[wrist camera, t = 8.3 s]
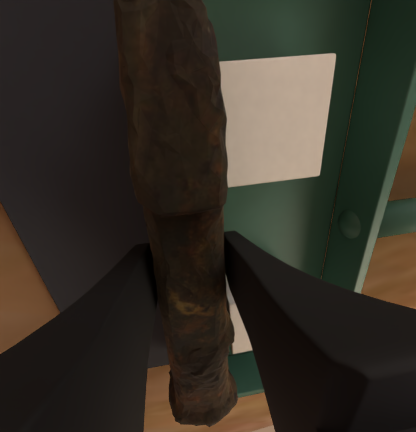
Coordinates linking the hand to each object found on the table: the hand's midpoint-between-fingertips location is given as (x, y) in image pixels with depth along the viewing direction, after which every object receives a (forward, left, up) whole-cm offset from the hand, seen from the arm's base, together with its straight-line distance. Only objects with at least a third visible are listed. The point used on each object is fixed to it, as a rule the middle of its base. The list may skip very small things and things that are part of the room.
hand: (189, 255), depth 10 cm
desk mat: (-3, 0, -2) cm, 4 cm away
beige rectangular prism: (+4, +5, -2) cm, 7 cm away
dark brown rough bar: (0, 0, -2) cm, 2 cm away
